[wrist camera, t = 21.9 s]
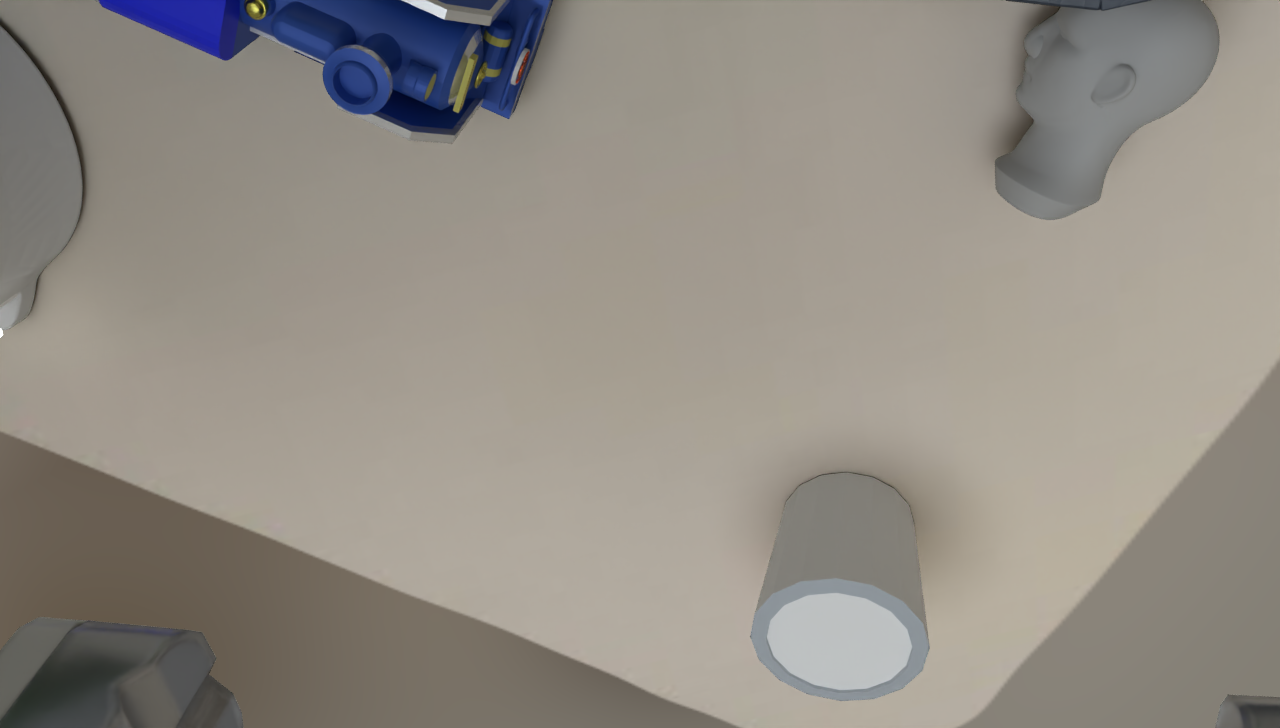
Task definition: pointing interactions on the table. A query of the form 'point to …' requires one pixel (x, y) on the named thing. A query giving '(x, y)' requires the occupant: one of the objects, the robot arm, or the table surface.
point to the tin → (1085, 3)
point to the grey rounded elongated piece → (1099, 95)
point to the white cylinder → (843, 592)
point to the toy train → (378, 51)
